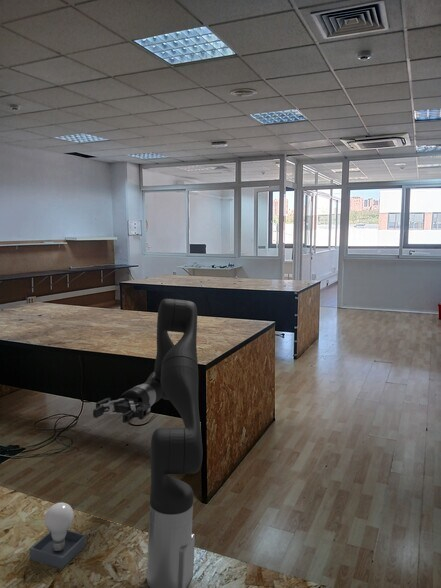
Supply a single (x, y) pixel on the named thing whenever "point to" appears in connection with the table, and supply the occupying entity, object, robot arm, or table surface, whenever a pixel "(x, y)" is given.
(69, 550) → the walled box
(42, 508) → the table surface
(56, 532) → the lightbulb
